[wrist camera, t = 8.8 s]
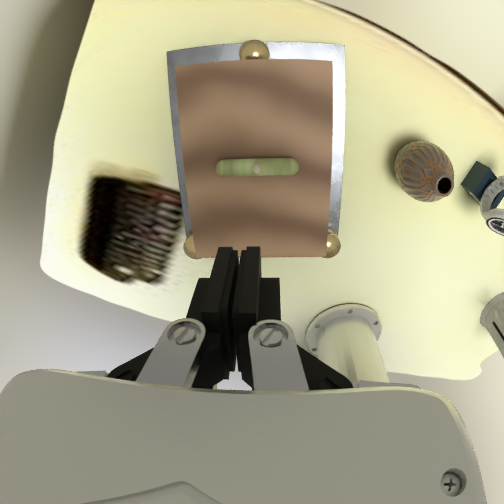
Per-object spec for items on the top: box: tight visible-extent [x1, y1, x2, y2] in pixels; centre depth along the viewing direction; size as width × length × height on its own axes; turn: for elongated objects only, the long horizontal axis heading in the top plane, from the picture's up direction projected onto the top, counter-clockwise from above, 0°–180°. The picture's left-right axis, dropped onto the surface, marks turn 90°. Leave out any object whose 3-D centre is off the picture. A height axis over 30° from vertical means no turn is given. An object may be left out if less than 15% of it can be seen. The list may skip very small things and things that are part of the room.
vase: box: [394, 141, 454, 202], centre depth 30 cm, size 7×7×9 cm
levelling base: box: [167, 40, 345, 259], centre depth 32 cm, size 25×19×6 cm
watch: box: [461, 161, 504, 236], centre depth 29 cm, size 6×8×11 cm
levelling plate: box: [175, 59, 333, 258], centre depth 28 cm, size 20×14×3 cm
